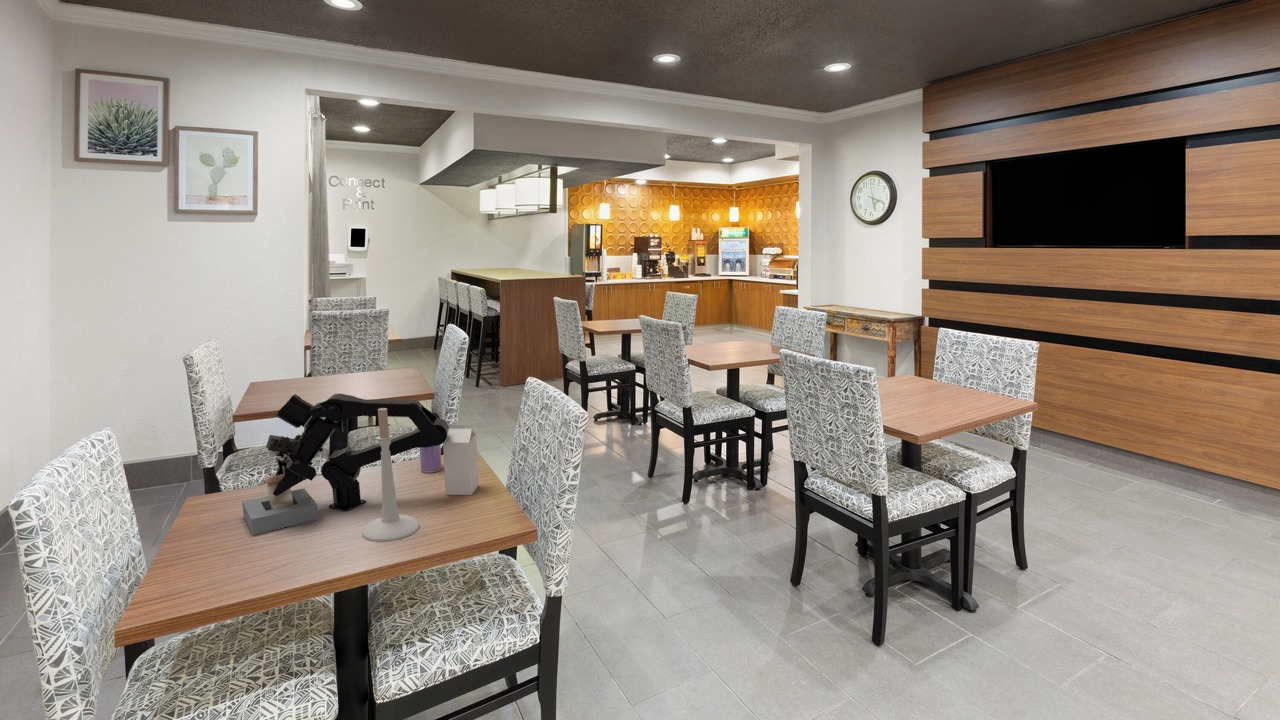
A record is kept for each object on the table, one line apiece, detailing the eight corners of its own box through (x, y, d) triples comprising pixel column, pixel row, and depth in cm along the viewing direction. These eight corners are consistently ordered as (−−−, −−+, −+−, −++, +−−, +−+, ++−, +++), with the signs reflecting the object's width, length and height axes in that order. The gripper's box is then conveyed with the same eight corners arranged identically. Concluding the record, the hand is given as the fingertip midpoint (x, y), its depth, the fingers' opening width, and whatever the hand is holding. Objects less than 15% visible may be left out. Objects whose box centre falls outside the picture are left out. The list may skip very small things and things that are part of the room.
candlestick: (396, 545, 144) (387, 415, 139) (349, 537, 147) (338, 411, 142) (430, 522, 156) (423, 402, 151) (386, 516, 159) (377, 399, 154)
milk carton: (471, 495, 173) (468, 427, 170) (445, 495, 173) (441, 427, 170) (478, 486, 180) (475, 420, 177) (453, 486, 180) (449, 420, 177)
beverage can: (435, 474, 189) (432, 425, 187) (417, 472, 191) (414, 424, 188) (445, 467, 195) (442, 420, 193) (427, 466, 196) (424, 419, 194)
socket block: (305, 502, 168) (304, 488, 167) (318, 519, 157) (317, 504, 157) (243, 516, 159) (242, 501, 159) (253, 535, 149) (251, 519, 148)
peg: (292, 510, 161) (284, 473, 160) (295, 515, 158) (288, 477, 156) (272, 516, 159) (265, 478, 157) (276, 521, 155) (268, 482, 154)
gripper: (277, 415, 164) (236, 468, 159) (292, 428, 149) (247, 487, 145) (315, 437, 170) (277, 489, 165) (333, 451, 156) (292, 508, 151)
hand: (272, 492), depth 156 cm, fingers closed on peg, 4 cm apart
